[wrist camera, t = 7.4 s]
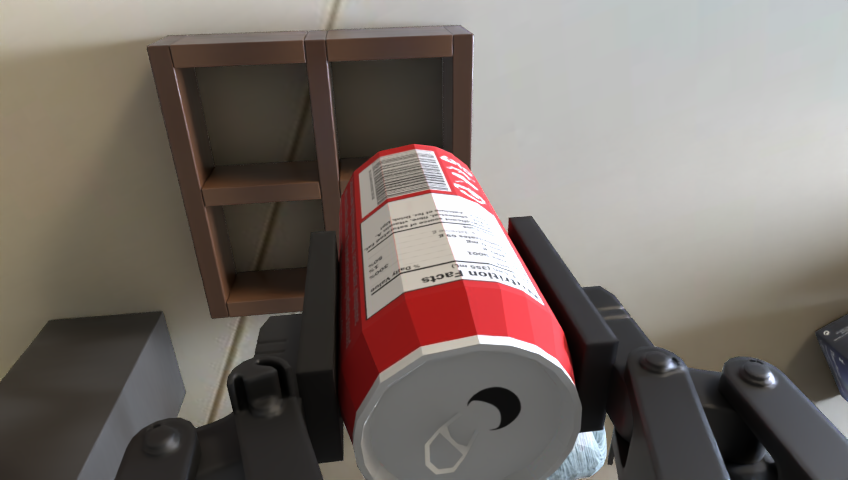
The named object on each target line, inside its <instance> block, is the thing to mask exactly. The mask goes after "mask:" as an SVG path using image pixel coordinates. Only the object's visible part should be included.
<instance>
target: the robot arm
mask: <svg viewBox="0 0 848 480" xmlns="http://www.w3.org/2000/svg"><path fill="white" fill-rule="evenodd" d="M508 235H509V237H510V239H511V241H512V242H513V244H514V246H515V248H516V249H517V251H518V253H519V255H520V256H521V258H522V260H523V262H524V263H525V265H526V267H527V269H528V270H529V272H530V274H531V276H532V277H533V279H534V281H535V282H536V284H537V286H538V288H539V289H540V291H541V293H542V295H543V296H544V298H545V300H546V302H547V303H548V305H549V307H550V309H551V310H552V312H553V314H554V316H555V317H556V319H557V321H558V323H559V324H560V326H561V328H562V329H563V331H564V334H565V337H566V340H567V344H568V347H569V350H570V354H571V357H572V364H573V371H574V378H575V385H576V389H577V392H578V396H579V399H580V402H581V405H582V416H581V429H580V432H579V433H583V432H592V431H600V430H603V428H604V422H605V417H606V412H607V414H608V416H609V418H610V419H611V421H612V423H613V425H614V429H613V434H612V440H611V445H610V450H609V455H608V465H612V464H613V459H614V457H615V463H616V468H617V474H618V479H619V480H848V439H847V438H846V437H845V436H844V435H843V434H842V433H841V432H840V431H839V430H838V429H837V428H836V427H835V426H834V425H833V424H832V423H831V422H830V421H829V419H828V418H827V417H826V416H825V415H824V414H823V413H822V412H821V411H820V410H819V409H818V408H817V407H816V406H815V405H814V404H813V403H812V402H811V401H810V400H809V399H808V398H807V397H806V396H805V395H804V394H803V393H802V392H801V391H800V390H799V389H798V387H797V386H796V385H795V384H794V383H793V382H792V381H791V380H790V379H789V378H788V377H787V376H786V375H785V374H784V373H783V372H781V371H780V370H779V369H778V368H776V367H775V366H773V365H771V364H769V363H767V362H765V361H763V360H759V359H756V358H752V357H735V358H731V359H729V360H728V361H727V362H725V363H724V366H723V370H722V372H715V371H707V370H699V369H693V368H688V367H687V366H686V365H685V363H684V362H683V360H682V359H681V358H680V357H678V356H677V355H676V354H674V353H673V352H670V351H668V350H666V349H663V348H659V347H654V345H653V344H652V343H651V341H650V340H649V339H648V338H647V336H646V335H645V334H644V332H643V331H642V330H641V329H640V327H639V326H638V325H637V323H636V322H635V321H634V320H633V318H630V314H629V313H628V312H627V311H626V309H623V306H622V304H621V303H620V302H619V300H618V299H617V298H616V297H615V295H613V294H612V293H610V292H609V291H607V290H605V289H604V288H602V287H601V286H594V287H581V286H580V284H579V283H578V282H577V280H576V279H575V277H574V276H573V274H572V273H571V272H570V270H569V269H568V267H567V266H566V264H565V263H564V262H563V260H562V259H561V257H560V256H559V254H558V253H557V252H556V250H555V249H554V247H553V246H552V244H551V243H550V242H549V240H548V239H547V237H546V236H545V234H544V233H543V232H542V230H541V229H540V227H539V226H538V224H537V223H536V222H535V220H534V219H533V217H532V216H526V217H512V218H509V225H508ZM338 300H339V259H338V249H337V239H336V231H323V232H311V238H310V247H309V256H308V266H307V275H306V284H305V293H304V302H303V312H302V314H291V315H280V316H270V317H269V319H268V320H267V321H266V322H265V323H264V325H263V326H262V327H261V328H260V331H259V336H258V340H257V345H256V350H255V355H254V358H252V359H249V360H246V361H244V362H242V363H241V364H239V365H238V366H237V367H235V368H234V369H233V370H232V372H231V373H230V375H229V376H228V380H227V388H228V392H229V396H230V400H231V405H232V409H233V412H232V413H231V414H229V415H227V416H226V417H224V418H222V419H220V420H218V421H215V422H213V423H210V424H207V425H204V426H201V427H198V428H195V427H194V426H193V425H192V423H191V422H190V421H187V420H185V419H182V418H167V419H163V420H159V421H156V422H154V423H152V424H150V425H148V426H146V427H144V428H143V429H141V430H140V431H139V432H138V433H137V434H136V435H135V436H133V438H132V439H131V441H130V442H129V444H128V446H127V447H126V450H125V453H124V455H123V458H122V461H121V463H120V466H119V469H118V471H117V474H116V477H115V479H114V480H323V477H322V474H321V471H320V468H319V465H318V463H326V462H335V461H343V419H342V416H341V412H340V407H339V401H338ZM766 450H767V451H768V452H767V451H766ZM769 454H770V455H771V456H770V455H769Z"/></svg>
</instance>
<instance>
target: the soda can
mask: <svg viewBox="0 0 848 480" xmlns="http://www.w3.org/2000/svg"><path fill="white" fill-rule="evenodd" d="M338 401H339V407H340V412H341V416H342V419H343V421H344V424H345V426H346V429H347V432H348V434H349V437H350V439H351V442H352V444H353V448H354V453H355V457H356V462H357V467H358V468H359V470H360V471H361V473H362V474H363V476H364V478H365V479H366V480H546V479H547V478H548V477H549V476H551V475H552V474H553V473H554V472H555V471H556V470H558V468H559V467H560V466H561V464H562V463H563V462H564V460H565V459H566V458H567V456H568V455H569V454H570V452H571V451H572V449H573V447H574V444H575V442H576V439H577V437H578V434H579V432H580V429H581V416H582V405H581V402H580V399H579V396H578V392H577V389H576V385H575V378H574V371H573V364H572V357H571V354H570V350H569V347H568V344H567V340H566V337H565V334H564V331H563V329H562V328H561V326H560V324H559V323H558V321H557V319H556V317H555V316H554V314H553V312H552V310H551V309H550V307H549V305H548V303H547V302H546V300H545V298H544V296H543V295H542V293H541V291H540V289H539V288H538V286H537V284H536V282H535V281H534V279H533V277H532V276H531V274H530V272H529V270H528V269H527V267H526V265H525V263H524V262H523V260H522V258H521V256H520V255H519V253H518V251H517V249H516V248H515V246H514V244H513V242H512V241H511V239H510V237H509V235H508V234H507V232H506V230H505V229H504V227H503V225H502V223H501V222H500V220H499V218H498V216H497V215H496V213H495V211H494V209H493V208H492V206H491V204H490V202H489V201H488V199H487V197H486V195H485V194H484V192H483V190H482V188H481V187H480V185H479V183H478V182H477V180H476V178H475V177H474V175H473V174H472V172H471V171H470V170H469V168H468V167H467V165H466V164H464V163H463V162H462V161H460V160H459V159H458V158H457V157H455V156H454V155H453V154H451V153H450V152H447V151H445V150H442V149H440V148H437V147H435V146H427V145H419V144H410V145H406V146H401V147H397V148H392V149H387V150H383V151H379V152H377V153H376V154H375V155H374V156H372V157H371V158H370V159H369V160H367V161H366V162H365V163H364V164H362V165H361V166H360V167H359V168H357V169H356V170H355V171H354V172H353V174H352V176H351V178H350V180H349V182H348V184H347V186H346V188H345V190H344V192H343V194H342V196H341V204H340V212H339V300H338Z"/></svg>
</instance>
